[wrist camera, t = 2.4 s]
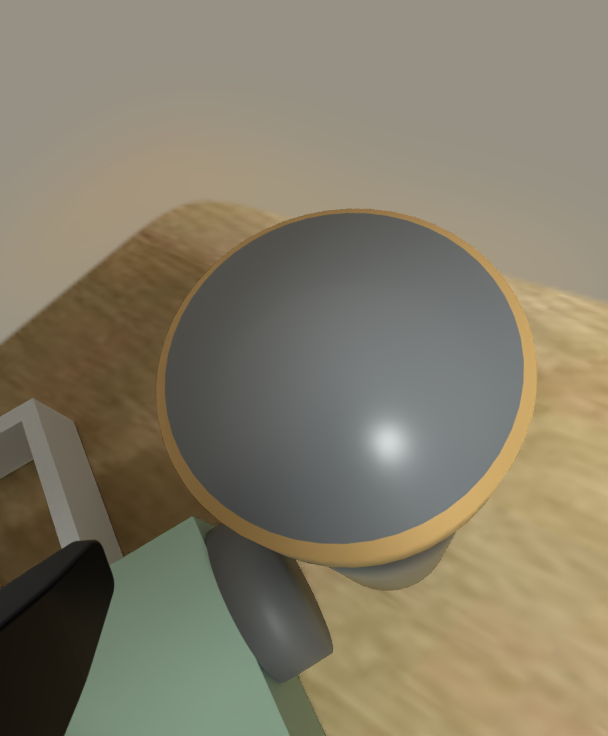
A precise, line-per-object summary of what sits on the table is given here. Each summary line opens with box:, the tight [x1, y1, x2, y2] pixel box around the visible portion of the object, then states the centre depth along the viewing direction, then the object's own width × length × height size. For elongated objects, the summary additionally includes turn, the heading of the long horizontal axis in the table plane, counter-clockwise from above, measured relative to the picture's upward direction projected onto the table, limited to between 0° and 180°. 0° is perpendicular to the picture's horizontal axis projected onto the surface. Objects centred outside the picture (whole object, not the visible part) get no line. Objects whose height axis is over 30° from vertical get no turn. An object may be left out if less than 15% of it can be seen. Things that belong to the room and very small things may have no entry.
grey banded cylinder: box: [156, 209, 537, 590], centre depth 12 cm, size 4×4×12 cm
